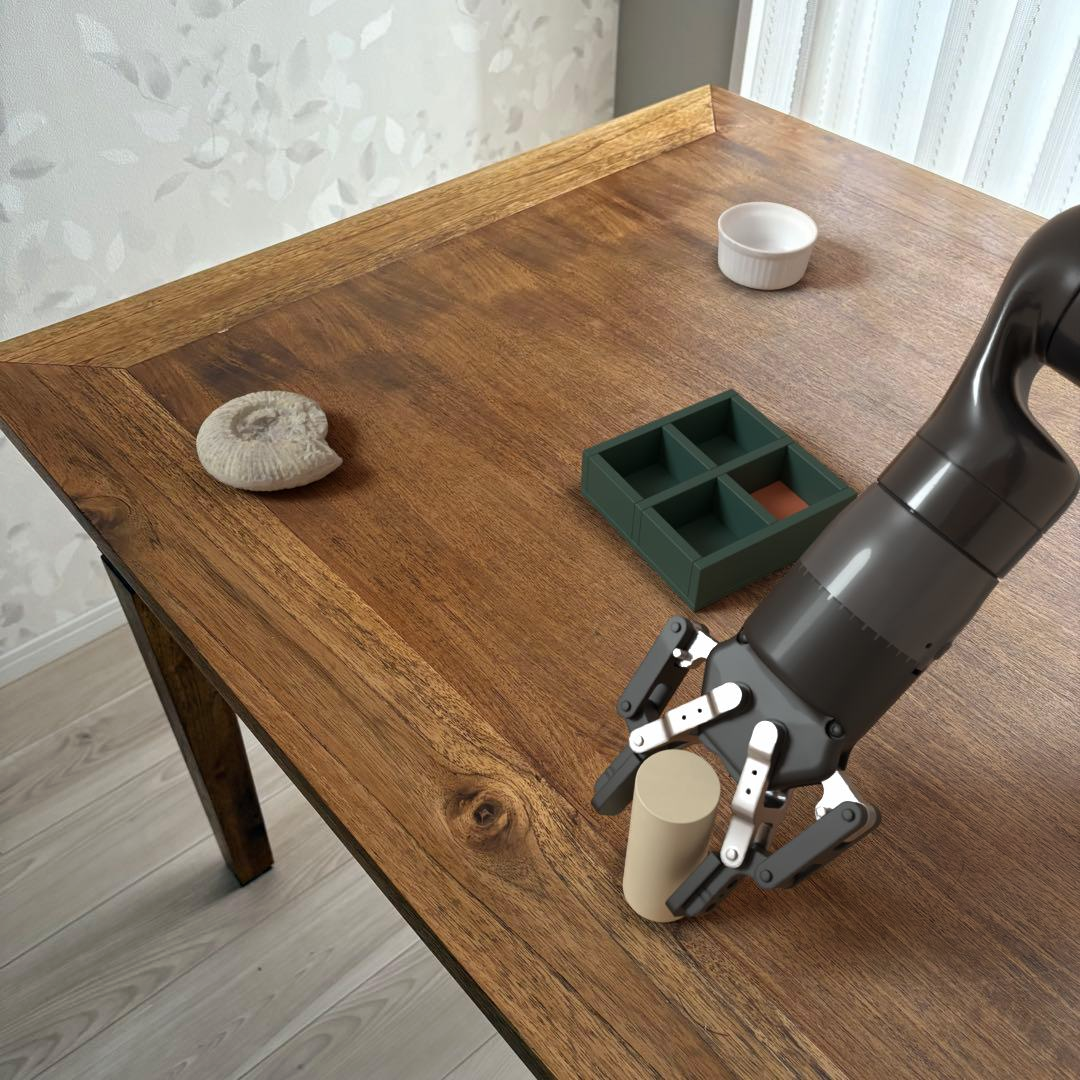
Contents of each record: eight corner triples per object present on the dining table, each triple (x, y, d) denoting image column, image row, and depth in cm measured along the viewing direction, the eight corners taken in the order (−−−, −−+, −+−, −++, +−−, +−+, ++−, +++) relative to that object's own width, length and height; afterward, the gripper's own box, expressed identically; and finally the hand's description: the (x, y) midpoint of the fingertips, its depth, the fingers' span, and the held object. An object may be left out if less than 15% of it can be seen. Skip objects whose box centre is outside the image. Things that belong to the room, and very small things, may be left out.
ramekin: (762, 233, 106) (769, 191, 103) (830, 274, 101) (840, 232, 98) (692, 261, 102) (697, 219, 99) (759, 306, 97) (766, 263, 94)
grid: (846, 535, 77) (858, 492, 75) (693, 612, 72) (700, 570, 70) (725, 430, 85) (732, 387, 82) (580, 493, 80) (582, 450, 77)
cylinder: (713, 898, 59) (738, 797, 51) (652, 936, 57) (669, 838, 50) (668, 840, 61) (686, 735, 54) (607, 875, 59) (618, 773, 52)
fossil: (365, 420, 80) (252, 499, 75) (374, 456, 82) (266, 534, 78) (272, 352, 85) (162, 423, 81) (284, 388, 88) (178, 458, 84)
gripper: (731, 492, 52) (517, 748, 56) (962, 704, 44) (690, 988, 48) (797, 530, 58) (599, 759, 62) (1012, 723, 50) (766, 975, 54)
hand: (640, 858), depth 55 cm, fingers open, 5 cm apart
